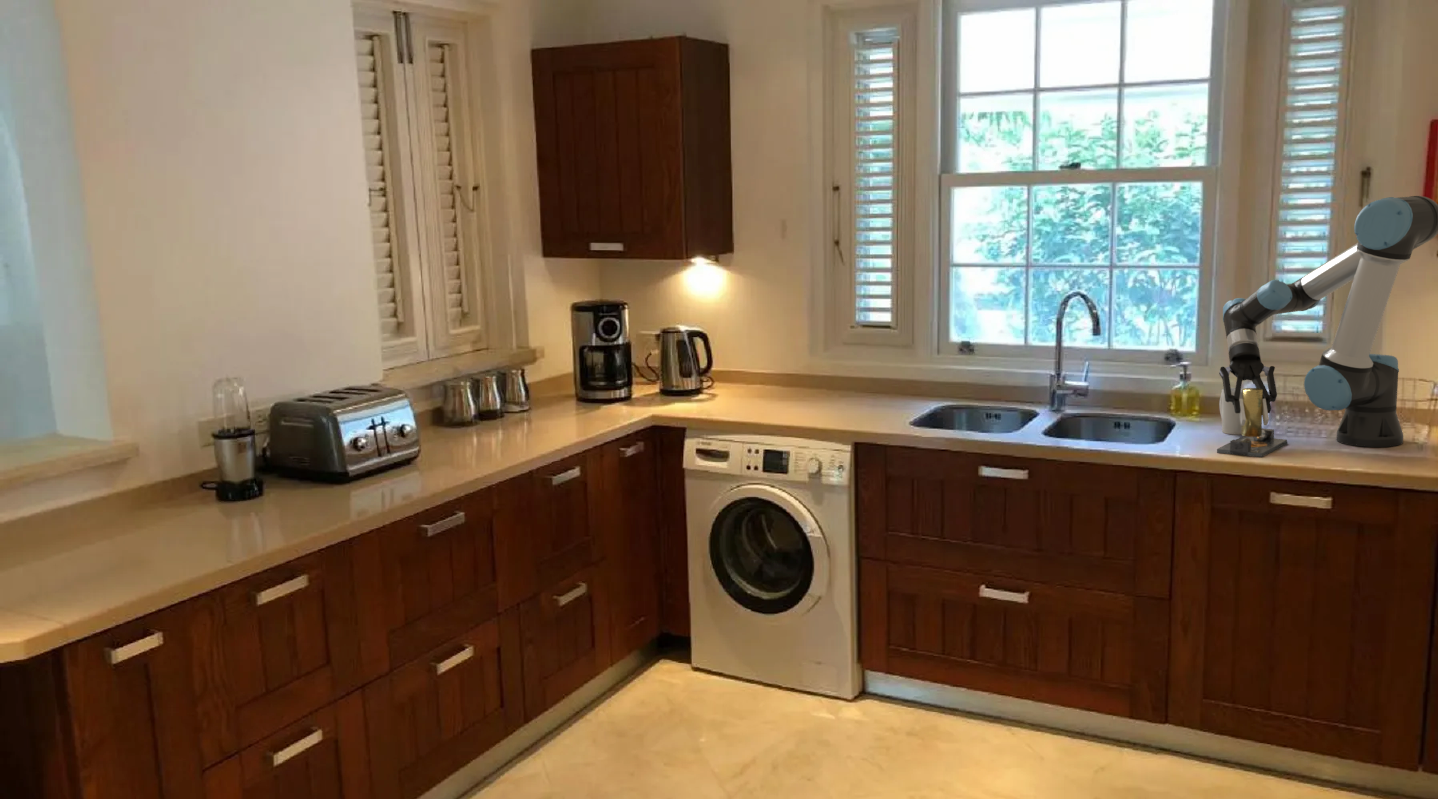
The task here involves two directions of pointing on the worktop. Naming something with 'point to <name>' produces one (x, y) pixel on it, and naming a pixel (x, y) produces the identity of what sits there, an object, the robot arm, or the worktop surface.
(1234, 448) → the shaft bench
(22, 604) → the worktop surface
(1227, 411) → the mug
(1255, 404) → the sleeve
